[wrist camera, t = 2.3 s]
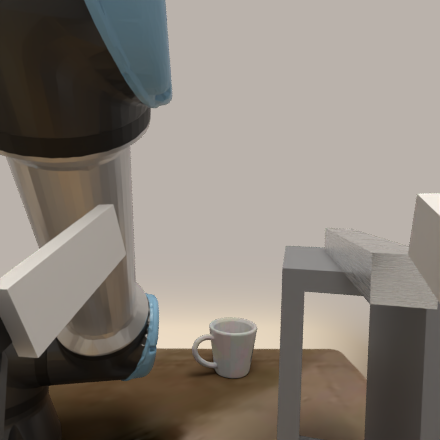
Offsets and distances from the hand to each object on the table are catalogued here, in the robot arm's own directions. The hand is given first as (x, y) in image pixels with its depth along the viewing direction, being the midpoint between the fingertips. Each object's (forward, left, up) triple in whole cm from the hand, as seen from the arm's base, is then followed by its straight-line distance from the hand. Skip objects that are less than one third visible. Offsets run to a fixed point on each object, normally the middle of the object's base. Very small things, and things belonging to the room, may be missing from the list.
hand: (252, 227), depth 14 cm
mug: (-54, +3, -35) cm, 65 cm away
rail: (-16, +13, -4) cm, 21 cm away
